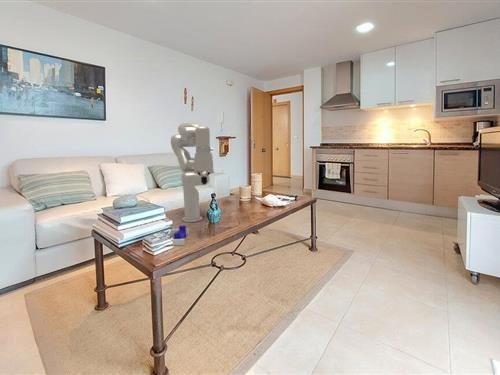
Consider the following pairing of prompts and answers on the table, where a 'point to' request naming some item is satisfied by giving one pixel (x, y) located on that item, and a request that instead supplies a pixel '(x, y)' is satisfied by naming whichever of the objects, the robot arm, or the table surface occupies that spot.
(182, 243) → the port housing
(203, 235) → the table surface
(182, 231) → the cable clip
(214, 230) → the table surface
